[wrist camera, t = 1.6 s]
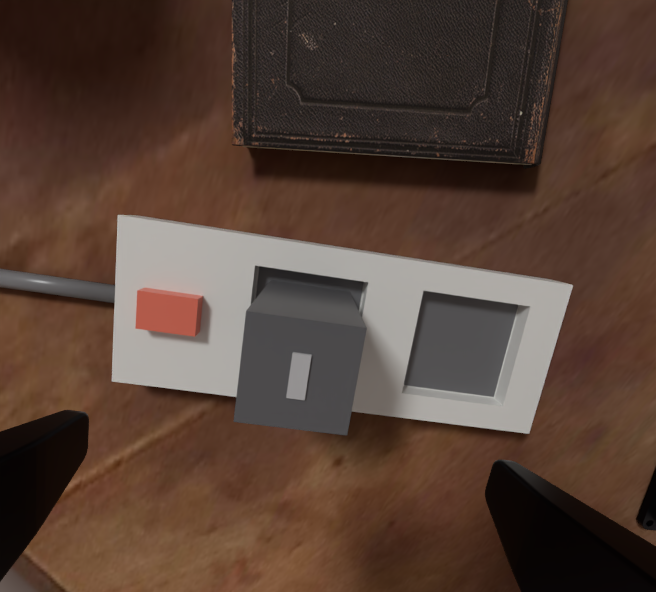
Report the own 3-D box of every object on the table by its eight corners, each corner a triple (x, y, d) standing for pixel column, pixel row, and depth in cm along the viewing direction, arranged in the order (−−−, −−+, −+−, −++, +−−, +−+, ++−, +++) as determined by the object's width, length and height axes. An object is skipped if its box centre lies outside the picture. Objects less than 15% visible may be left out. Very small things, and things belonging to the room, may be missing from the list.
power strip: (510, 415, 23) (537, 441, 20) (-44, 344, 21) (-99, 362, 18) (549, 279, 21) (584, 287, 18) (-53, 185, 19) (-116, 179, 16)
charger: (336, 364, 21) (347, 437, 14) (261, 354, 20) (232, 423, 13) (349, 291, 20) (367, 328, 13) (270, 280, 20) (245, 311, 13)
